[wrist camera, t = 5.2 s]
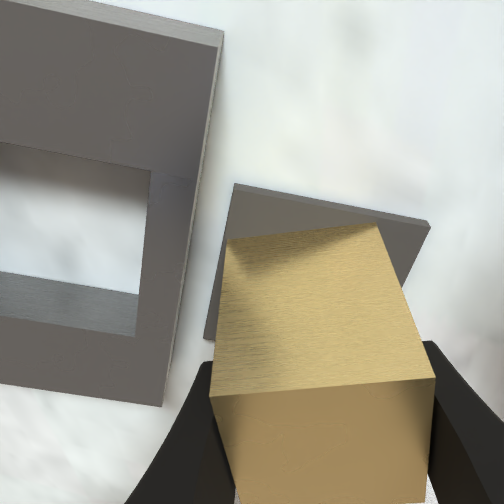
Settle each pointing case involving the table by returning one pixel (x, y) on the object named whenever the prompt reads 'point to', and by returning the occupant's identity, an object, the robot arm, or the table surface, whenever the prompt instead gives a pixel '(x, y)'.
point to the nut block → (320, 371)
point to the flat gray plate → (308, 218)
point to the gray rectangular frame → (116, 152)
